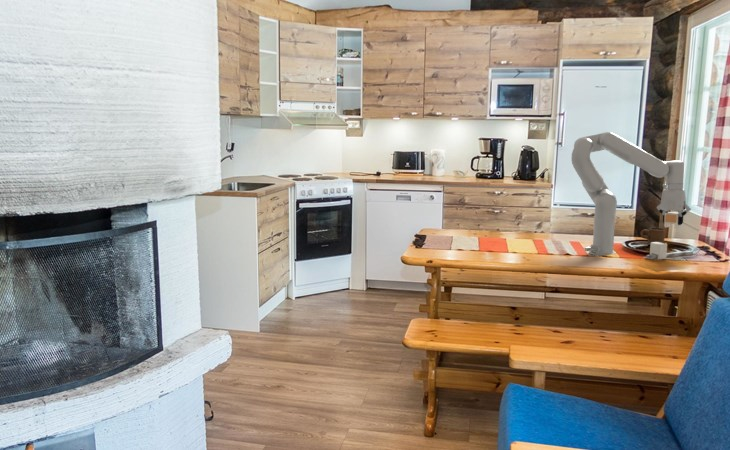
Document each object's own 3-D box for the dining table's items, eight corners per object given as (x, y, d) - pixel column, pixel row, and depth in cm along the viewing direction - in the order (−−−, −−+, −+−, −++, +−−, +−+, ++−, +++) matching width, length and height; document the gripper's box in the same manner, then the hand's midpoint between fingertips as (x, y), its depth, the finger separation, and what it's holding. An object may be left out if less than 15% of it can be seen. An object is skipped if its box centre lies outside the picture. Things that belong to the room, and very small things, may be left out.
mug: (642, 247, 300) (643, 230, 298) (637, 244, 307) (638, 227, 306) (666, 248, 298) (667, 230, 297) (660, 245, 306) (661, 227, 304)
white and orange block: (676, 228, 272) (677, 214, 271) (663, 227, 277) (664, 213, 276) (680, 227, 275) (681, 212, 274) (667, 226, 280) (668, 211, 279)
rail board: (653, 262, 267) (653, 256, 267) (641, 259, 274) (642, 253, 273) (696, 258, 275) (697, 252, 274) (684, 255, 281) (685, 249, 281)
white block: (659, 259, 269) (660, 244, 267) (649, 256, 274) (650, 242, 273) (667, 258, 270) (668, 244, 269) (657, 255, 276) (658, 241, 274)
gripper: (652, 186, 277) (650, 223, 280) (690, 188, 264) (688, 226, 267) (659, 185, 282) (657, 221, 285) (696, 186, 269) (695, 224, 272)
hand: (672, 223), depth 276 cm, fingers closed on white and orange block, 6 cm apart
